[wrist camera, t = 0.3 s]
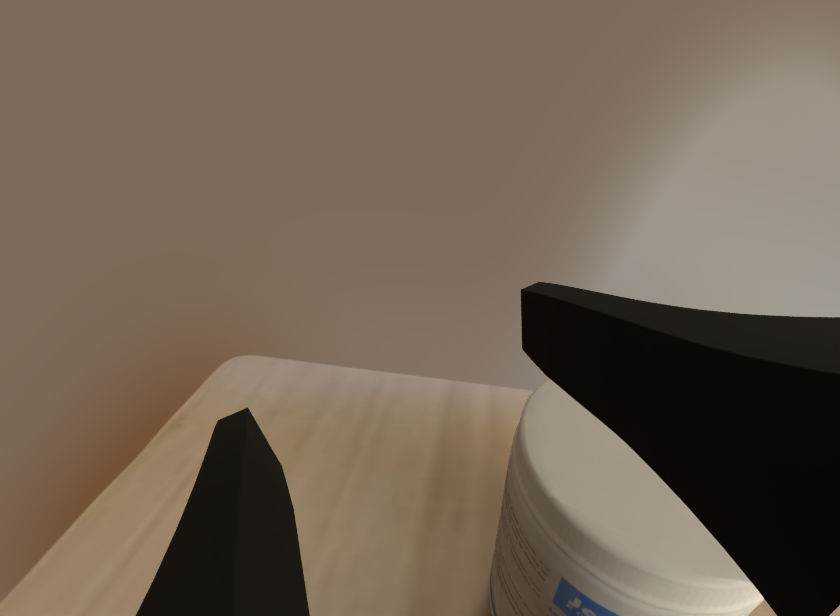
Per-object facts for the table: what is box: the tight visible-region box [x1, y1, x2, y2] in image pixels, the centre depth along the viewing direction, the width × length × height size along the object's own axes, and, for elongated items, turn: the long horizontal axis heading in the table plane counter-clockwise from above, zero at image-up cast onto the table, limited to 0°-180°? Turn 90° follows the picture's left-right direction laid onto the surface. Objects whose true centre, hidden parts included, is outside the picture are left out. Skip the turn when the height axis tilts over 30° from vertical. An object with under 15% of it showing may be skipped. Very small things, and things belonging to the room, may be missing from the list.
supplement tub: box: [489, 379, 764, 616], centre depth 18 cm, size 10×10×15 cm
